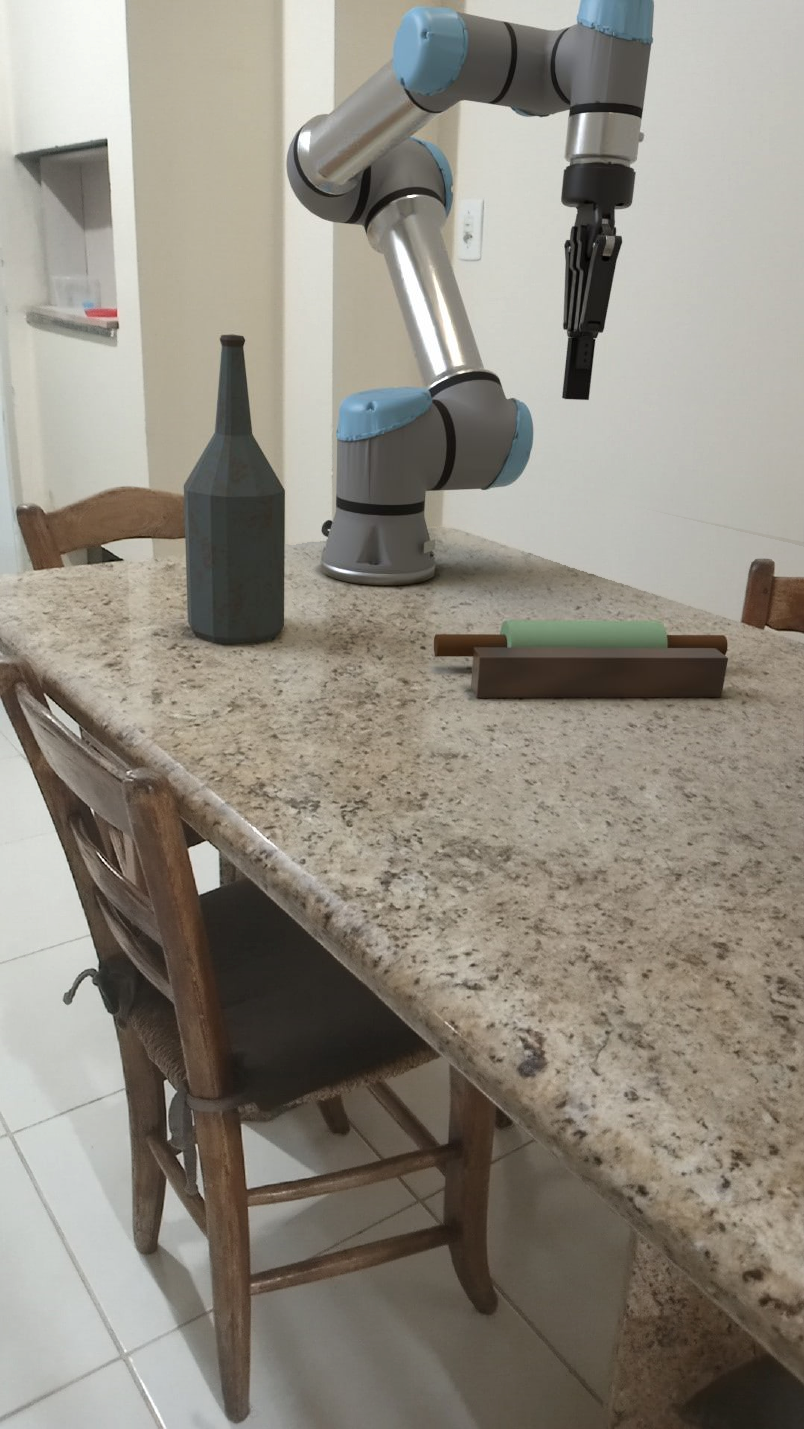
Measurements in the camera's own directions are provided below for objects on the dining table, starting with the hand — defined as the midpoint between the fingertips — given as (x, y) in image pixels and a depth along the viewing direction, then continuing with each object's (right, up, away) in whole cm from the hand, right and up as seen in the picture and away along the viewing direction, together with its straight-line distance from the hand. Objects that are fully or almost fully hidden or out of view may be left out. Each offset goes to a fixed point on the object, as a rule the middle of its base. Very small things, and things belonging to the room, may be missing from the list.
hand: (575, 398), depth 116 cm
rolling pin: (-1, -29, -16) cm, 33 cm away
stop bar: (-1, -34, -19) cm, 39 cm away
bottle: (-38, -27, -6) cm, 47 cm away
